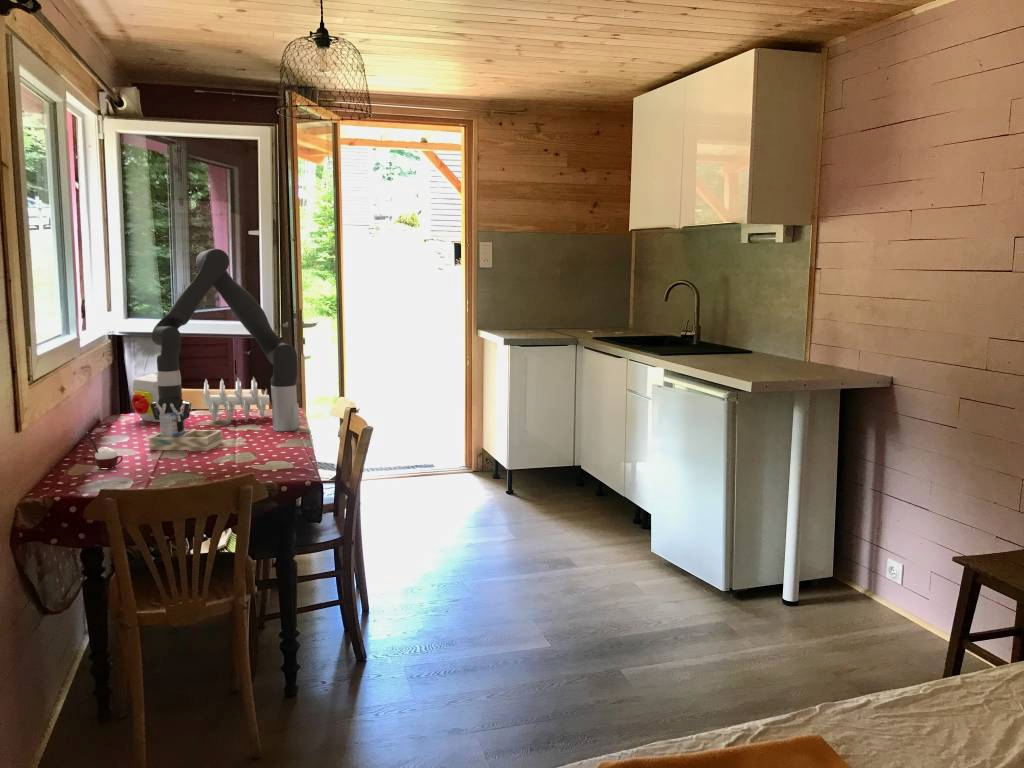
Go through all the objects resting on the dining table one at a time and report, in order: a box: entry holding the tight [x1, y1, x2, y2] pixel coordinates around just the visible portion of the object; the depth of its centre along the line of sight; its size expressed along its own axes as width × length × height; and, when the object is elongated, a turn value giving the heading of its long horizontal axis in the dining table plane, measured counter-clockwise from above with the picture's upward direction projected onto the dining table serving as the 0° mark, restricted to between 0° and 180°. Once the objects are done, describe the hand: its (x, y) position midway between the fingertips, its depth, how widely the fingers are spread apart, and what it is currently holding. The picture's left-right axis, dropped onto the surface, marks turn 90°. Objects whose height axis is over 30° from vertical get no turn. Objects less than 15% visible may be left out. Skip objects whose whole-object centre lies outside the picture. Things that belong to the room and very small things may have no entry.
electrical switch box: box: [131, 371, 183, 423], centre depth 323 cm, size 15×15×20 cm
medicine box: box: [159, 410, 186, 437], centre depth 279 cm, size 8×4×9 cm, turn 169°
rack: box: [148, 429, 223, 452], centre depth 280 cm, size 20×13×4 cm, turn 87°
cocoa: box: [85, 431, 124, 469], centre depth 250 cm, size 10×6×12 cm, turn 104°
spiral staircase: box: [203, 376, 270, 424], centre depth 324 cm, size 18×18×25 cm
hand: (172, 431), depth 280 cm, fingers closed on medicine box, 4 cm apart
